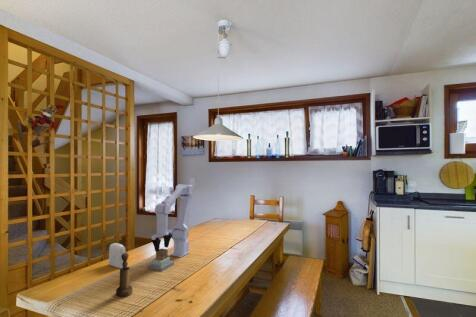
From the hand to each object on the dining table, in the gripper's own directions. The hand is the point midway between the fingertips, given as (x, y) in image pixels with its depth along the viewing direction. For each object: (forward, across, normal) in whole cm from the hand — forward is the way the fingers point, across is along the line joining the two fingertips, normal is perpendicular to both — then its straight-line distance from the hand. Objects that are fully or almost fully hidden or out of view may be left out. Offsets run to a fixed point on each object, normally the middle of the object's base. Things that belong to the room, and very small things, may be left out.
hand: (161, 249), depth 146 cm
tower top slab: (+8, 0, 0) cm, 8 cm away
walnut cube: (+5, 0, 0) cm, 5 cm away
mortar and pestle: (+10, -31, -6) cm, 33 cm away
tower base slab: (+10, 0, 0) cm, 10 cm away
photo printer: (+10, -11, +22) cm, 26 cm away
